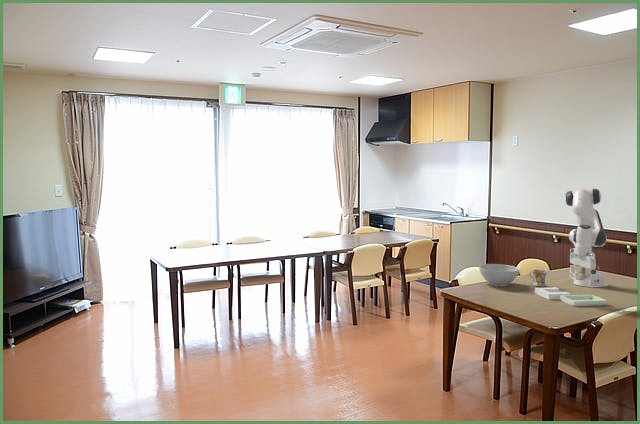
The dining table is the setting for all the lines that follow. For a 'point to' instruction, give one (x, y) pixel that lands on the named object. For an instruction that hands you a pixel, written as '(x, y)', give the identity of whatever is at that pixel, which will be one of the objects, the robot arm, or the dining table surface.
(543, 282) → the mug
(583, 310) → the dining table surface
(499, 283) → the decorative bowl
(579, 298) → the tray
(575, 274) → the caddy
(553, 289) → the stand
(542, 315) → the dining table surface
